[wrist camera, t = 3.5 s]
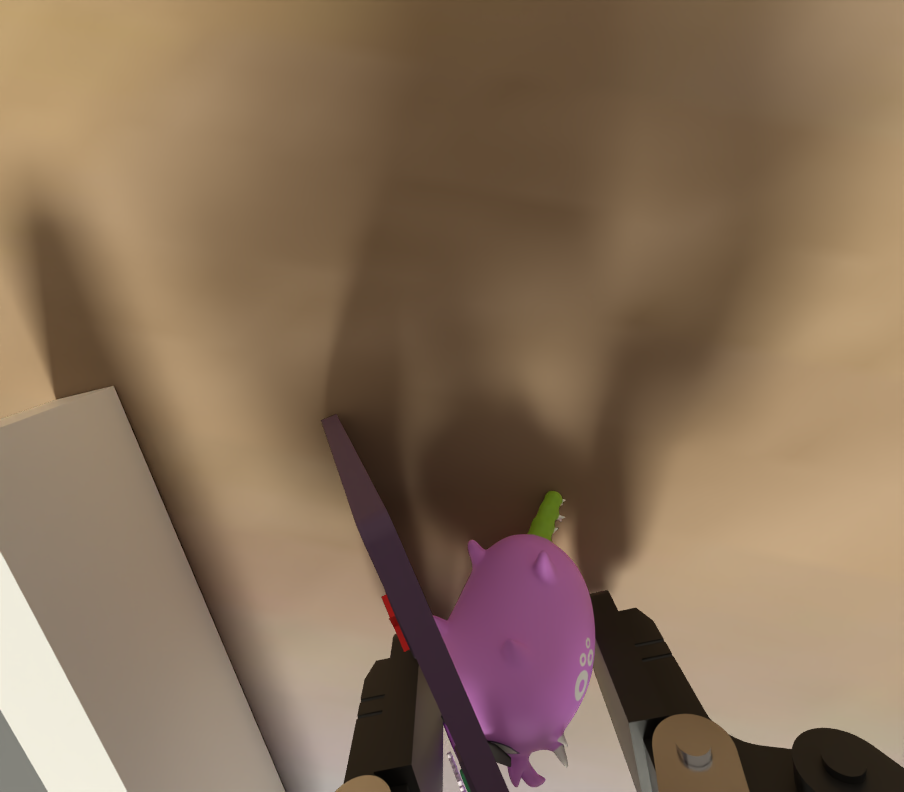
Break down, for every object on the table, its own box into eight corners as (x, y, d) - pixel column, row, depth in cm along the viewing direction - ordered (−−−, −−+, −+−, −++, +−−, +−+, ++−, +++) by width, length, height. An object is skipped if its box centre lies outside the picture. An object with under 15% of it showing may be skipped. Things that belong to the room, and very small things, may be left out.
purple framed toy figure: (291, 563, 5) (544, 1068, 8) (682, 372, 7) (802, 855, 9) (289, 431, 12) (427, 726, 14) (487, 347, 13) (585, 630, 15)
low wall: (113, 385, 12) (-55, 448, 8) (319, 871, 16) (274, 1069, 12) (53, 400, 12) (-141, 468, 8) (273, 879, 16) (214, 1077, 12)
